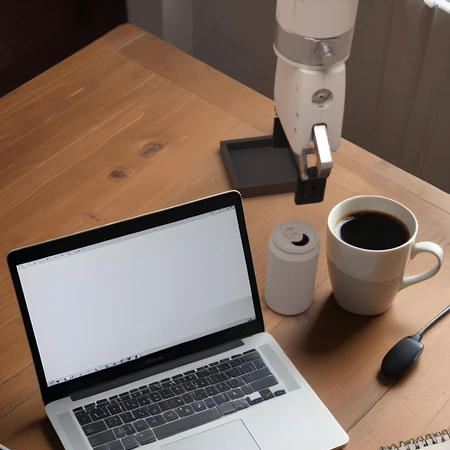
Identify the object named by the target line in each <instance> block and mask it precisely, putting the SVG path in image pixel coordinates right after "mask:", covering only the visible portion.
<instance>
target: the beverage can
mask: <svg viewBox="0 0 450 450" xmlns="http://www.w3.org/2000/svg"><path fill="white" fill-rule="evenodd" d="M319 237H320V236H319V232H318V231H317V228H315V227H314V226H313V225H312V224H311V223H308V222H307V221H304V220H301V219H288V220H284V221H281V222H279V223H278V224H276V225H275V226H274V228H273V230H272V233H270V235H269V238H268V243H267V255H266V268H265V278H264V279H265V281H264V291H263V292H264V293H263V297H264V301H265V303H266V306H268V307H269V308H270V310H273V311H274V312H276V313H277V314H281V315H285V316H294V315H299V314H302V313H304V312H305V311H307V310H308V309H309V308H310V307H311V305H312V302H313V298H314V293H315V286H316V279H317V272H318V265H319V259H320V253H321V246H322V245H321V239H320V238H319Z"/></svg>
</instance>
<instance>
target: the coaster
mask: <svg viewBox="0 0 450 450" xmlns="http://www.w3.org/2000/svg"><path fill="white" fill-rule="evenodd" d="M272 136H273V134H269V135H268V134H267V135H260V136H259V135H258V136H251V137H243V138H235V139H234V138H233V139H226V140H219V154H220V157H221V160H222V163H223V166H224V169H225V172H226V175H227V179H228V182H229V185H230V188H231V191H232V190H237V191H239V192H240V194H241V197H242V199H249V198H257V197H265V196H272V195H281V194H286V193H295V187H296V179H297V174H299V173H300V162H299V155H298V154H296V153H295V152H294V151H293V150H292V148H291V147H286V148H277V149H276V148H273V145H272Z"/></svg>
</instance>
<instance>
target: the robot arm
mask: <svg viewBox="0 0 450 450" xmlns="http://www.w3.org/2000/svg"><path fill="white" fill-rule="evenodd" d="M358 7H359V0H276V10H275V21H274V34H273V45H272V47H273V52H274V54H275V55H276V57H277V60H276V69H275V76H274V88H273V101H274V102H273V103H274V108H273V109H274V115H275V116H274V117H273V125H272V135H273V136H272V145H273V148H276V149H277V148H286V147H291V148H292V150H293V151H294V152H295V153H296V154H298V155H299V162H300V173H299V174H297V179H296V187H295V192H294V195H293V196H294V197H293V202H294V204H295V205H296V206H304V205H311V204H319V203H322V202H324V201H325V194H326V186H327V181H328V178H329V177H330V175H331V173H332V170H333V167H334V159H333V154H332V153H337V151H338V150H339V149H340V146H341V139H342V131H343V122H344V114H345V113H344V112H345V100H346V83H347V82H346V80H347V79H346V78H347V77H346V75H347V74H346V73H347V72H346V63H345V62H346V61H347V60H348V59H349V58H350V55H351V50H352V45H353V39H354V38H353V37H354V32H355V25H356V20H357V13H358ZM310 142H312V143H313V147H311V148H310V147H308V145H309V144H310ZM307 147H308V148H307ZM308 155H315V157H316V159H315V165H312V166H310V167H309V165H308Z"/></svg>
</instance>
